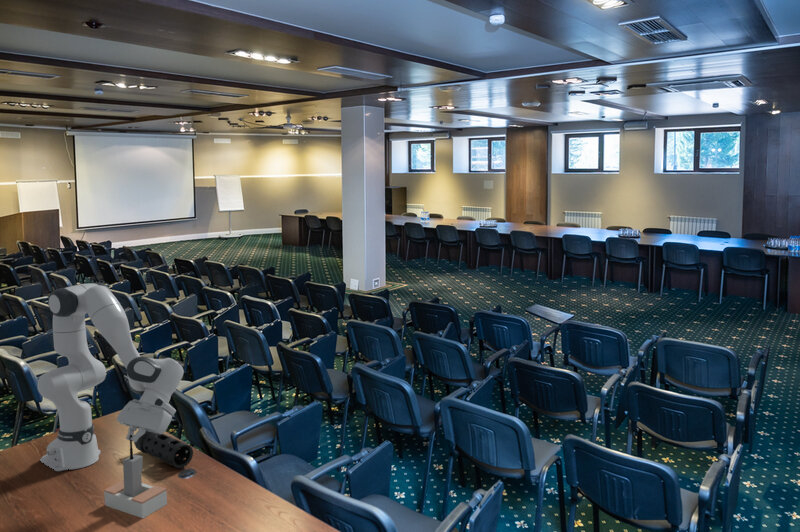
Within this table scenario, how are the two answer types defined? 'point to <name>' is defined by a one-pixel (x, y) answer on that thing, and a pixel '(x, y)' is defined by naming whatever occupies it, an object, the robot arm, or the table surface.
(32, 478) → the table surface
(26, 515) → the table surface
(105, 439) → the table surface
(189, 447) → the muzzle brake
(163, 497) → the tan rectangular frame
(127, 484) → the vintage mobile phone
